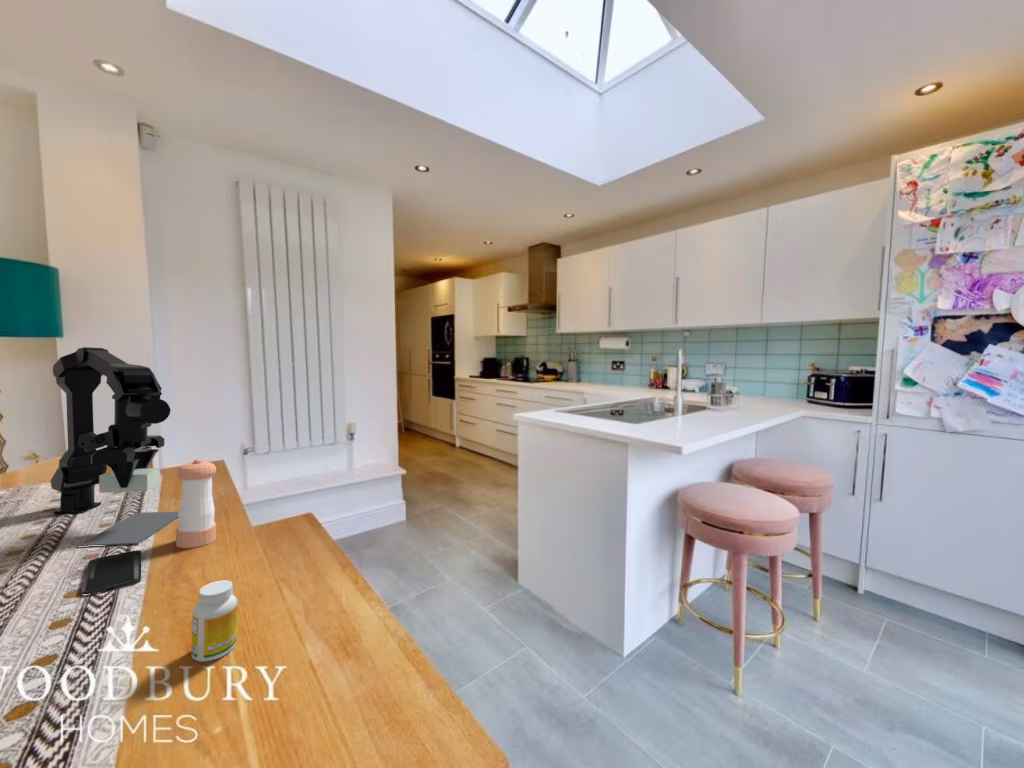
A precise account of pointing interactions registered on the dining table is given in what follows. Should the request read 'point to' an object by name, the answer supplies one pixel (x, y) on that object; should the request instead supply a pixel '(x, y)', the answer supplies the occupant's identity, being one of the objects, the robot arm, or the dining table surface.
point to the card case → (138, 482)
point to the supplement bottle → (214, 621)
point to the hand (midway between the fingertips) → (130, 483)
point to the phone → (112, 572)
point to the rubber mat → (132, 529)
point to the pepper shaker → (196, 505)
